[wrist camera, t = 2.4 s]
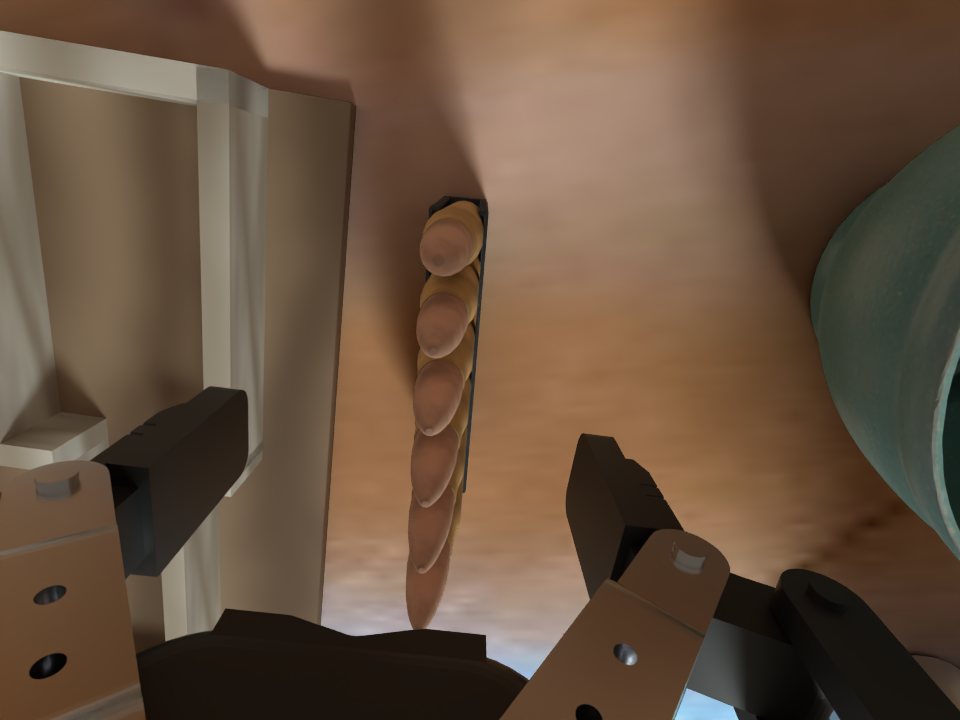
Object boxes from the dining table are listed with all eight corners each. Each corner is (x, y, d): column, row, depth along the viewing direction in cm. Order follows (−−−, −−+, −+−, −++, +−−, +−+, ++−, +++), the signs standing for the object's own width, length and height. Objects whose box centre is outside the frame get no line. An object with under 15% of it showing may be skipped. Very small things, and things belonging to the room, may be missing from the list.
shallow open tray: (356, 106, 19) (326, 86, 15) (316, 680, 29) (292, 750, 25) (-77, 32, 18) (-213, -7, 15) (30, 645, 28) (-37, 712, 24)
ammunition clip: (442, 196, 20) (388, 202, 9) (488, 199, 20) (492, 211, 9) (429, 433, 24) (379, 659, 12) (469, 436, 24) (454, 664, 12)
